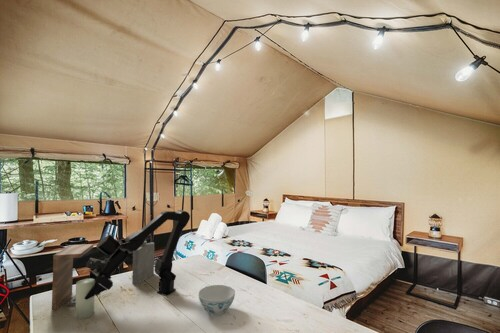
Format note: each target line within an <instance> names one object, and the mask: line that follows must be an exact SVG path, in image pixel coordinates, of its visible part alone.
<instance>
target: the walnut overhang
mask: <svg viewBox="0 0 500 333" xmlns="http://www.w3.org/2000/svg"><path fill="white" fill-rule="evenodd" d="M93 248H94V243H89V244H86V243H85V244H70V245H68V246H66V247H65V248H63V249H61V250H59V251H58V252H57V253H56V252H55V253H54V254H53V256H52V257H53V258H52V259H53V261H52V263H53V264H52V288H51V292H52V293H51V311H52V310H53V311H57V310H58V309H57V308H59V307H61V306H62V304H63V303H64V302H65V301H66V300H67V299H68V298H70V296H71V295H72V294H73V278H74V277H73V272H74V259H76V258H77V259H78V258H82V257H83V256H84V255H85V254H86V253H89V251H91V250H92V249H93ZM98 295H101V293H99V294H98ZM75 305H76V294H74V296H73V297H72V298H71V299H70V300H69V302H67V307H75ZM56 309H57V310H56Z"/></svg>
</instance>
